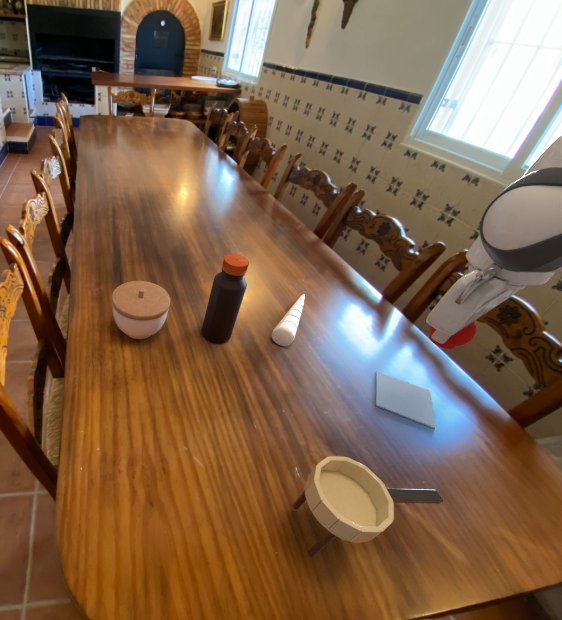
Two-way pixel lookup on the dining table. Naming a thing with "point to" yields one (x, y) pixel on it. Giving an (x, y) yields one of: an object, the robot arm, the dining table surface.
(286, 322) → the unicorn horn
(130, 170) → the dining table surface
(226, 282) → the bottle
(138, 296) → the lidded bowl
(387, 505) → the pan
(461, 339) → the tomato
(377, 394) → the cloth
